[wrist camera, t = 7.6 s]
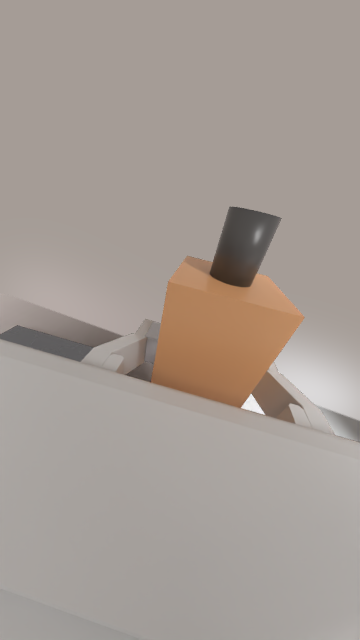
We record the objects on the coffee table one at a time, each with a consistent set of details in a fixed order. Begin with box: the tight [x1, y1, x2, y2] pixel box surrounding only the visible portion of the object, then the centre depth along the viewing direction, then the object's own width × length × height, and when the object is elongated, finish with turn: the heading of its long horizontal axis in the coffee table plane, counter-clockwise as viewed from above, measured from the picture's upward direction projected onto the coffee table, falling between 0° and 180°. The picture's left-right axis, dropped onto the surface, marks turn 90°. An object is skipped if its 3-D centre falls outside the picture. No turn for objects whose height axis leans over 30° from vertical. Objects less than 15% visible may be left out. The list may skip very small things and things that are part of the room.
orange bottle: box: [151, 207, 304, 408], centre depth 10 cm, size 4×4×14 cm
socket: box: [0, 325, 93, 362], centre depth 17 cm, size 14×14×4 cm
